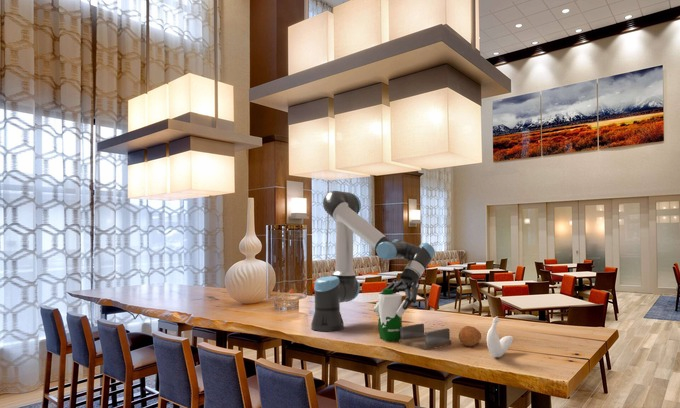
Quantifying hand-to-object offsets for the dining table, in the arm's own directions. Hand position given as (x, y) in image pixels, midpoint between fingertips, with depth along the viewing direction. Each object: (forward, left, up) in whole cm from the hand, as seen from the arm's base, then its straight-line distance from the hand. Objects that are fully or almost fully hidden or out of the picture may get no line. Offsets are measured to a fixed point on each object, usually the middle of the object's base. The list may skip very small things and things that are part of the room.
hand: (386, 312), depth 176 cm
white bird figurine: (+43, +13, -11) cm, 46 cm away
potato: (+26, +19, -11) cm, 34 cm away
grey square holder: (+14, +7, -11) cm, 19 cm away
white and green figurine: (-14, +11, -11) cm, 21 cm away
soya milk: (0, +2, -11) cm, 11 cm away
